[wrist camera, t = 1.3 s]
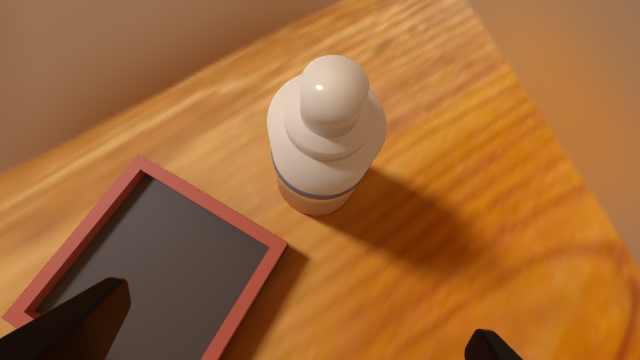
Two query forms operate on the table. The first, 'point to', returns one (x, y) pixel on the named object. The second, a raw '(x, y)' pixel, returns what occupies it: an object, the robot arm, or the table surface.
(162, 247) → the lacquer tray
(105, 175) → the table surface
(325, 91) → the white sake bottle
